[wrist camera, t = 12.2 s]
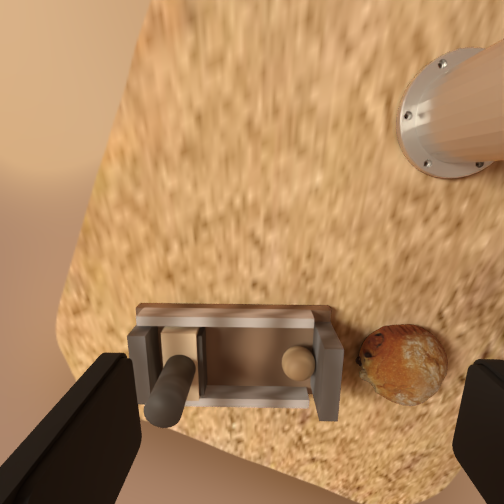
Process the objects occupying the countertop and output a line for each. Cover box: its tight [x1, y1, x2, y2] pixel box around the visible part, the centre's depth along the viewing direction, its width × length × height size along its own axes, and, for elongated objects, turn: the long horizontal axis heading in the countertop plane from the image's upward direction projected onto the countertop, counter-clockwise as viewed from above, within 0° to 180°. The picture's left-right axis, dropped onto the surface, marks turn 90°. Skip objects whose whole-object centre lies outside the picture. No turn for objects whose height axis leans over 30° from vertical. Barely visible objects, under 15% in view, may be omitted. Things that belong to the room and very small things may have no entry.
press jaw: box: [144, 326, 207, 428], centre depth 33 cm, size 5×9×10 cm, turn 0°
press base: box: [127, 303, 344, 421], centre depth 36 cm, size 24×12×8 cm, turn 90°
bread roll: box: [356, 324, 448, 406], centre depth 37 cm, size 10×10×8 cm
